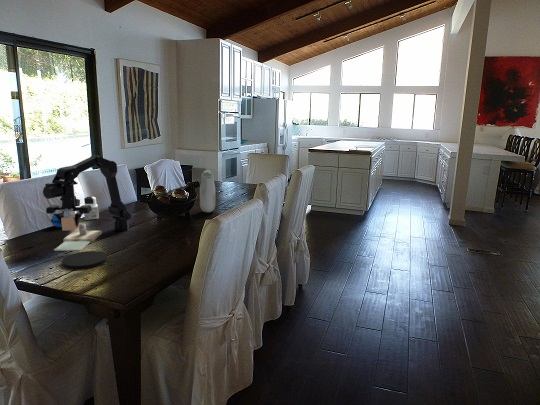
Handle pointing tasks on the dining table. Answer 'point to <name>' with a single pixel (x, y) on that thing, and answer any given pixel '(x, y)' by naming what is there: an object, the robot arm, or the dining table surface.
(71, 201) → the robot arm
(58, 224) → the ornament
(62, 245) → the mat
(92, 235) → the post base
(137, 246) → the dining table surface
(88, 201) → the container
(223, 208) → the dining table surface
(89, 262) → the wireless charger
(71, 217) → the salmon pink cube
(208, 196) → the white tall cylinder
